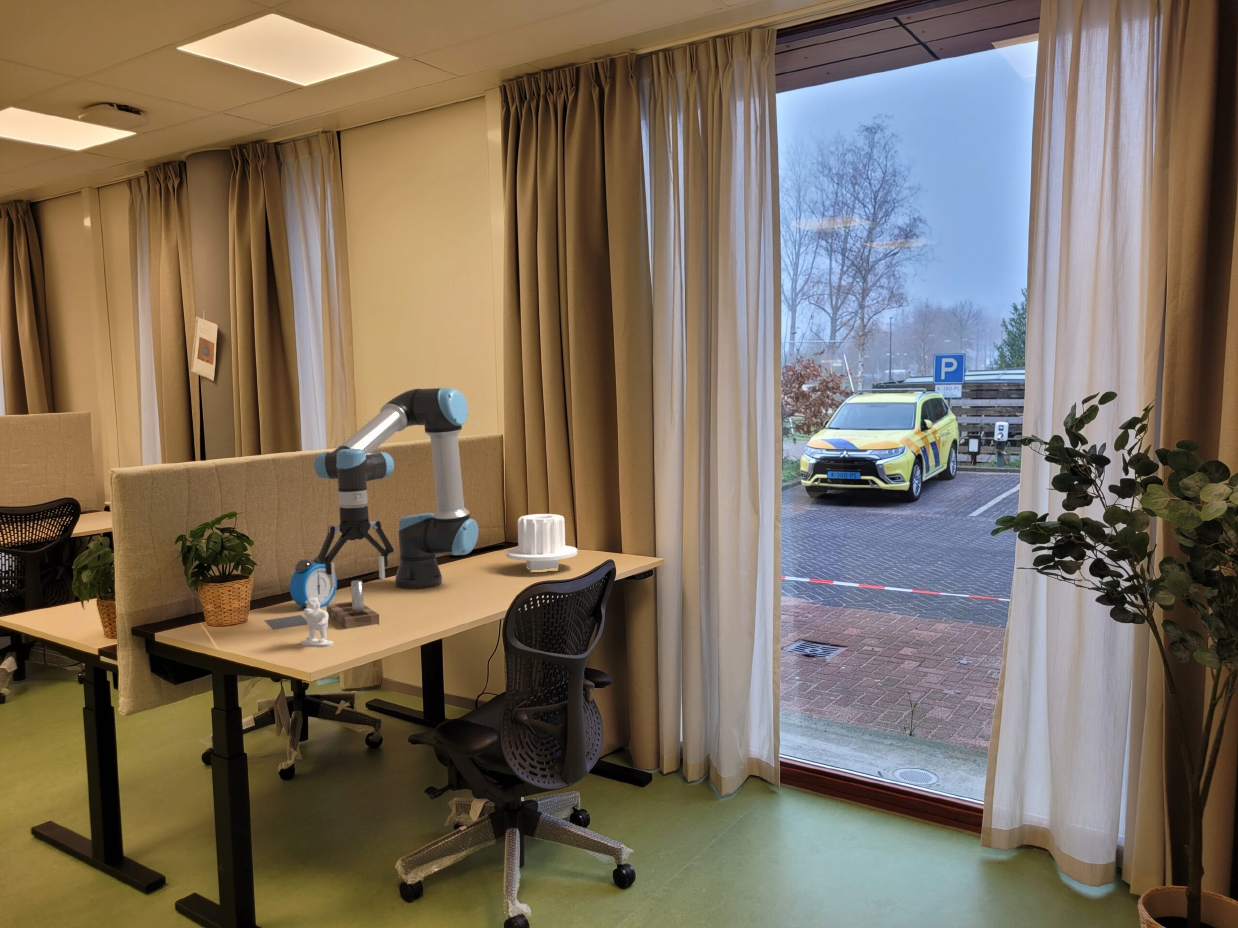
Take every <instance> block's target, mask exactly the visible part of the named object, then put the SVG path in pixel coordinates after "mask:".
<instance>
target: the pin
mask: <svg viewBox="0 0 1238 928" xmlns="http://www.w3.org/2000/svg"><path fill="white" fill-rule="evenodd" d="M350 585H351V586H350V589H351V591H350V592H351V601H352V615H353V617H354V616H360V615H364V606H363V604H364V588H363V587H364V583H363V580H358V579H357V580H352V581H350Z"/></svg>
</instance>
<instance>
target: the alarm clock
mask: <svg viewBox="0 0 1238 928" xmlns="http://www.w3.org/2000/svg"><path fill="white" fill-rule="evenodd" d="M294 570H295V571H294V572H293V574H292V576H291V579H290V582H289V583H290V584H289V593H290V596H291V598H292V600H293V601H294V602H295V604H297V605H299V606H301V607H306V606H307V603H305V601H306V600H308V599H309V598H313V597H317V598H318V602H319V604H320V608H323V607H327V606H326V605H330V602H332V600H333V599H334V597H335V594H336V591H337V588H338V579H337V575H336V573H335V585H336V587H332V586H331V585H330V575H327V574H326V570H325V562H321V561H319V560H318V556H316V557H314V558H312V559H310V560H309V559H307V558H306V559H305V558H304V559H301V560H299V561H297V562H296V564H295V565H294Z"/></svg>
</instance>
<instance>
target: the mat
mask: <svg viewBox="0 0 1238 928" xmlns="http://www.w3.org/2000/svg"><path fill="white" fill-rule="evenodd" d="M264 622H265V623H266V624H267V626H269V627H270V628H271V629H272V630H275V631H276V630H281V629H287V628H293V627H294V628H295V627H300V626H301V627H302V626H307V625H308V624H307V621H306V619H305V616H303V615H301V614H299V615H292V616H285V617H278V618H277V617H276V618H271V619H265V620H264ZM308 626H309V625H308Z"/></svg>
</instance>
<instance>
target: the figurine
mask: <svg viewBox="0 0 1238 928" xmlns="http://www.w3.org/2000/svg"><path fill="white" fill-rule="evenodd" d="M305 603H307V606H306V608H303V614H304V618H305V619H306V621H307V624H308V628H309V629H308V633H309V636H307V637H306V638H305V639H302V640H300V644H301V645H303V646H306V647H307V646H309V647H316V648H327V647H332V646H333V645H334V641H333V640H329V639H327V637H328V636H327V629H328V627H329V617H330V616H329V615H328V613H327V610H324V609H321V607H320V604H319V602H318V598H317V597H313V598H309V599H308V600H306V601H305ZM317 631H318V632H319V635H320V638H316V637H317V633H316V632H317Z"/></svg>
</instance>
